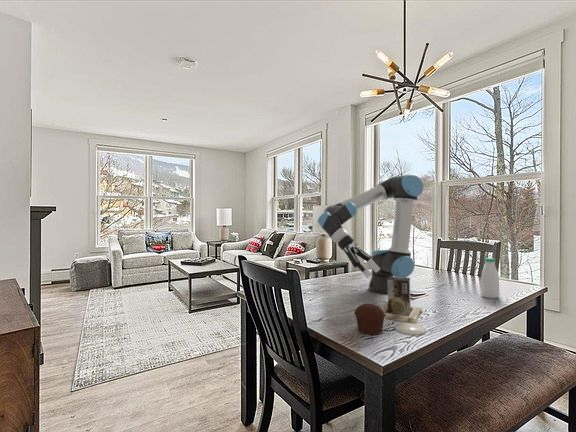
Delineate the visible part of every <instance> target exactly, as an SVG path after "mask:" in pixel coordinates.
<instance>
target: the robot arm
mask: <svg viewBox="0 0 576 432" xmlns="http://www.w3.org/2000/svg"><path fill="white" fill-rule="evenodd" d="M423 191H424V182H423V181H422V179H421V178H420V176H418V175H416V174H413V173H411V174H403V175H397V176H393V177H390V178H388V179H386V180H384V181H382V182H380V183H378V184H376V185H375V186H374V187H373V188H371V189H369V190H366V191H364V192H362V193H359V194H356V195H355V196H353V197H350V198H347V199H345V200H343V201H341V202H338V203H336V204H334V205H329V206H327V207H325V209H324V210H323V213H322V214H321V215H320V216H319V217H318V218H317V224H318V225H319V226H320V227H321V229H323V230H324V232H326V234H327V235H328V236H329V237H330V238H331V239H332V242H334V243H336V244H337V246H338V247H339V248H340V250H342V251H343V252H344V253H345V255H346V256H347V258H348V260H349V261H350V263H351V265H352V266H353V267H354V268H355V269H356V268H358V270H359V271H360V272H361V273H362V274H363V275H364V276H365V278H366V279H369V278H370V277H371V278H370V280H369V283H368V291H371V292H372V291H373V292H372V293H376V292H377V294H378V293H379V294H388V283H387V280H388V278H389V277H405V278H409V276H410V275H411V274H412V273H413V272H414V269H415V261H414V259H413V258H412V257H411V256H412V253H411V251H410V250H409V246H410V236H411V229H412V222H413V221H412V220H413V213H414V212H413V210H414V205H415V203H417V202H418V197H419V196H420V195H421V194H422V193H423ZM392 198H393V200H394V201H395V203H396V204H395V211H394V220H393V230H392V238H391V246H390V248H388V249H375V250H373V251H371V255H370V254H369V253H368V252H366V251H365V249H363V248H361V247H360V246H359V245H358V244H357V243H355V244H354V241H355V239H354V238H353V237H352V235H351V234H349V233H348V231H347V230H346V229H345V228H344V227H343V225H344V224H346V222H348V221H349V220H350V219H352V218H353V217H354V216H355V215H357V213H358V210H360V209H363V208H365V207H367V206H369V205H372V204H374V203H376V202H379V201H386V200H387V199H392ZM359 258H361V259H362V260H364V261H366V263H365V264H367V265H368V266H369V267H370V268H371V271H370V270H369V269H368V268H367V267H366V265H364V263H363V262H361V260H360V259H359Z"/></svg>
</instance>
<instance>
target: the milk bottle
mask: <svg viewBox="0 0 576 432" xmlns="http://www.w3.org/2000/svg"><path fill="white" fill-rule="evenodd" d="M484 263H485V264H484V267H483V268H482V271H481V275H480V276H481V279H480V280H481V281H480V282H481V284H480V285H481V286H480V289H481V296H482V297H483V298H487V299H488V298H489V299H499V297H500V275H499V271H498V270H497V269H498V268H497V267H496V258H493V257H485V258H484Z"/></svg>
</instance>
